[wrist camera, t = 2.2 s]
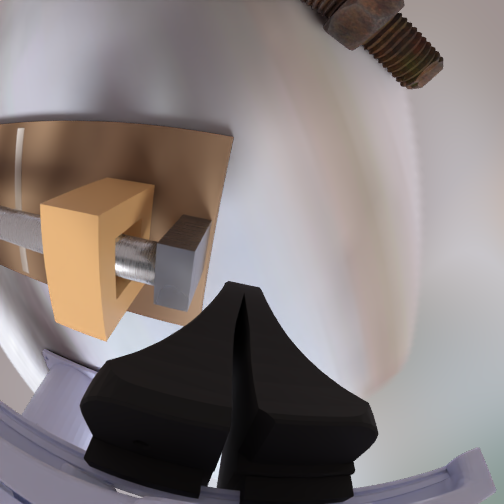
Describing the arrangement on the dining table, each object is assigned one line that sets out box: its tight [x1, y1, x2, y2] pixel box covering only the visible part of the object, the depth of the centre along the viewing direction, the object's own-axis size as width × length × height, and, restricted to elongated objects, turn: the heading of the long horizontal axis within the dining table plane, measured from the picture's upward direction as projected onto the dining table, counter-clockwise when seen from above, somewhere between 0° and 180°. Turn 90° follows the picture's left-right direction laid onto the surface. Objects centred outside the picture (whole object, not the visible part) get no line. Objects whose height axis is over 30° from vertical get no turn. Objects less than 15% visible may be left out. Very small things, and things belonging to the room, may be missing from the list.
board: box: [0, 121, 234, 326], centre depth 15 cm, size 22×12×1 cm, turn 78°
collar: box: [40, 177, 155, 342], centre depth 12 cm, size 3×6×6 cm, turn 168°
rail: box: [0, 205, 212, 312], centre depth 13 cm, size 22×3×5 cm, turn 78°
